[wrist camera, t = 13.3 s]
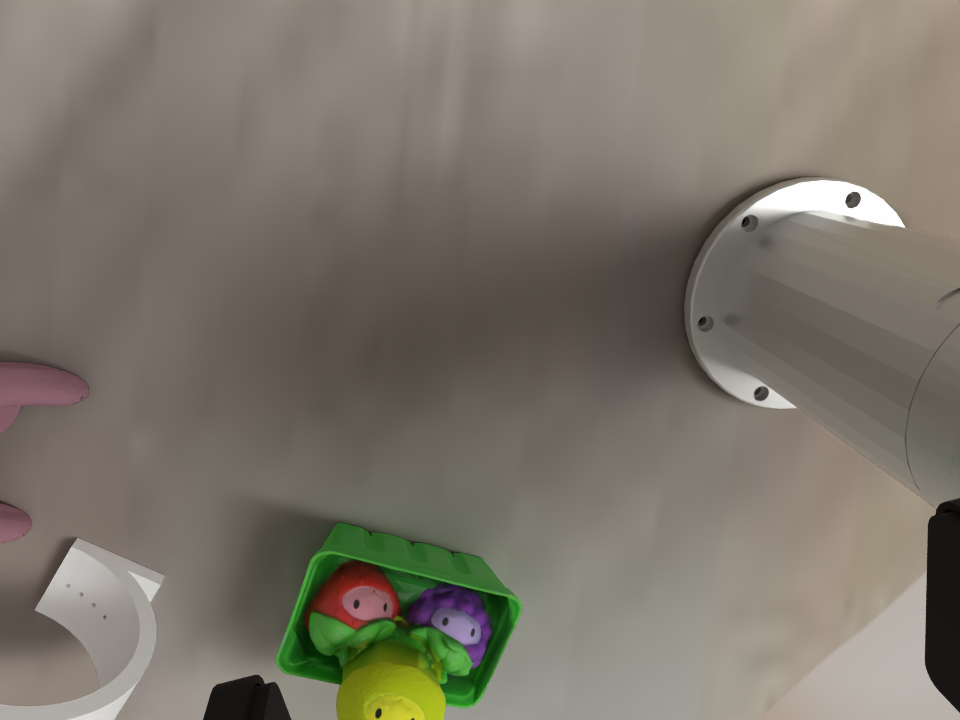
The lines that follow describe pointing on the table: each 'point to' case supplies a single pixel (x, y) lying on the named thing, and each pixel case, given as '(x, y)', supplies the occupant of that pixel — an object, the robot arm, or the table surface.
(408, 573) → the fruit basket
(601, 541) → the table surface
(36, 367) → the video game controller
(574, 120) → the table surface
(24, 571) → the table surface
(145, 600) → the headphone stand
